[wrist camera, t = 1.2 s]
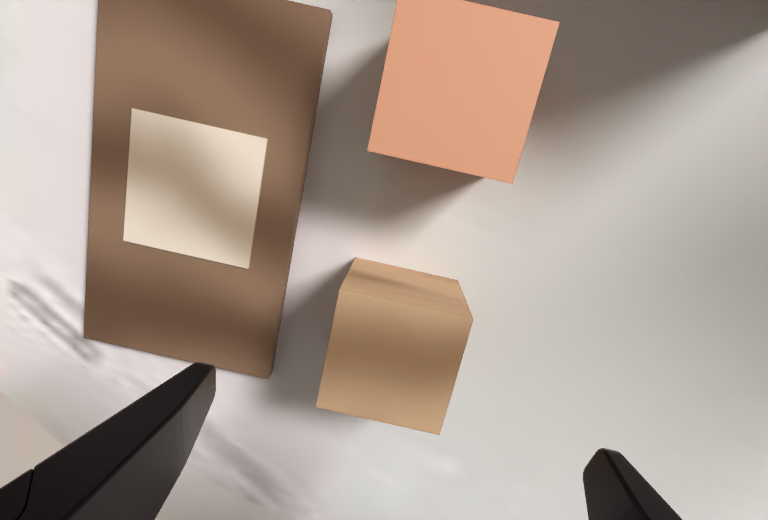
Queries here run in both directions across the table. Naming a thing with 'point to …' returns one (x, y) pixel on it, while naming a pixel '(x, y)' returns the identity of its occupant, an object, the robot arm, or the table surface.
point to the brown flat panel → (199, 173)
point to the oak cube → (395, 346)
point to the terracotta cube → (460, 85)
